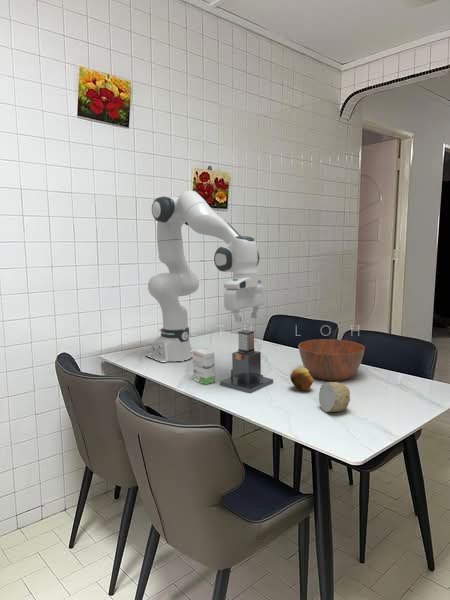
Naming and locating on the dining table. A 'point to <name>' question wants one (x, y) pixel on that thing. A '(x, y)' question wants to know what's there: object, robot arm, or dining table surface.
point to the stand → (246, 373)
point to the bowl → (331, 358)
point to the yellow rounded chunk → (334, 397)
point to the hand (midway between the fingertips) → (246, 320)
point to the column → (246, 342)
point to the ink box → (203, 366)
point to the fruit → (301, 378)
